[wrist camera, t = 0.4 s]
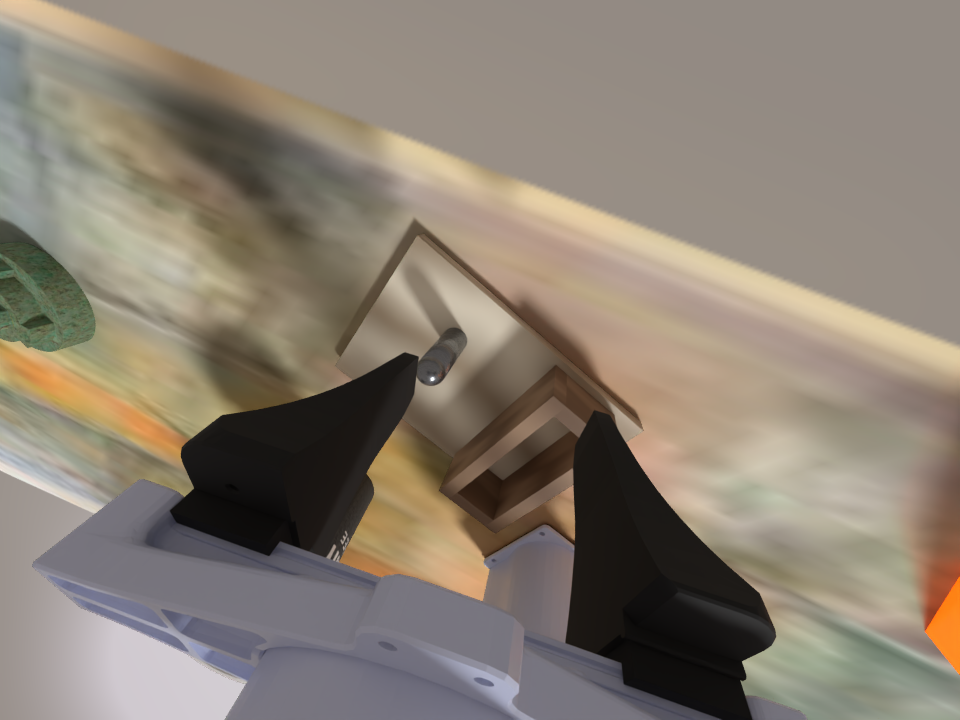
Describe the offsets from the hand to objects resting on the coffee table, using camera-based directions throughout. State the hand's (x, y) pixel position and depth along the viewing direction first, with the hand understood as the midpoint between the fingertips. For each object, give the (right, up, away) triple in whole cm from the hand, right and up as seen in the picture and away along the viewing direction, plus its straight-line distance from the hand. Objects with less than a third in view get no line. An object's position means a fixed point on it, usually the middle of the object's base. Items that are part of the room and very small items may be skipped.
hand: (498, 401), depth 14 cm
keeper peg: (-2, +4, +11) cm, 12 cm away
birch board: (-1, -1, +13) cm, 13 cm away
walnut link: (+3, -4, +12) cm, 14 cm away
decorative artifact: (-43, +8, +20) cm, 48 cm away
